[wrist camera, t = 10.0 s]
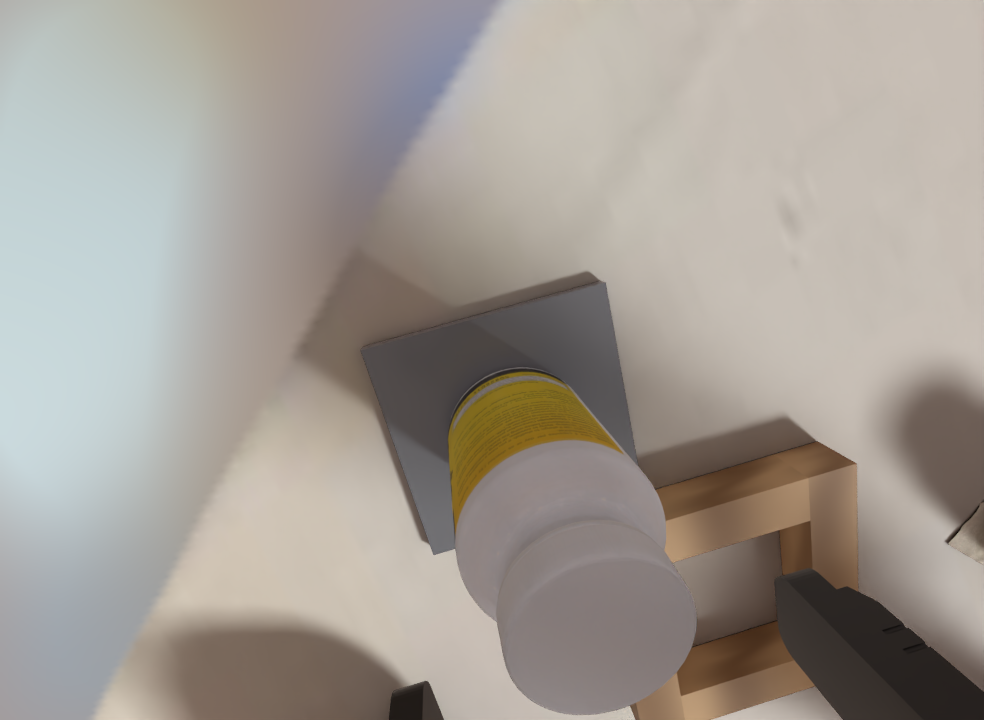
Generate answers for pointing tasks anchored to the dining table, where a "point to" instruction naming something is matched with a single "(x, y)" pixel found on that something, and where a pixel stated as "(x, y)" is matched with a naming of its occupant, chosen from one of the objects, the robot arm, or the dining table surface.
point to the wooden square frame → (804, 544)
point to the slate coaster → (476, 354)
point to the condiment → (971, 537)
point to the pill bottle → (564, 546)
